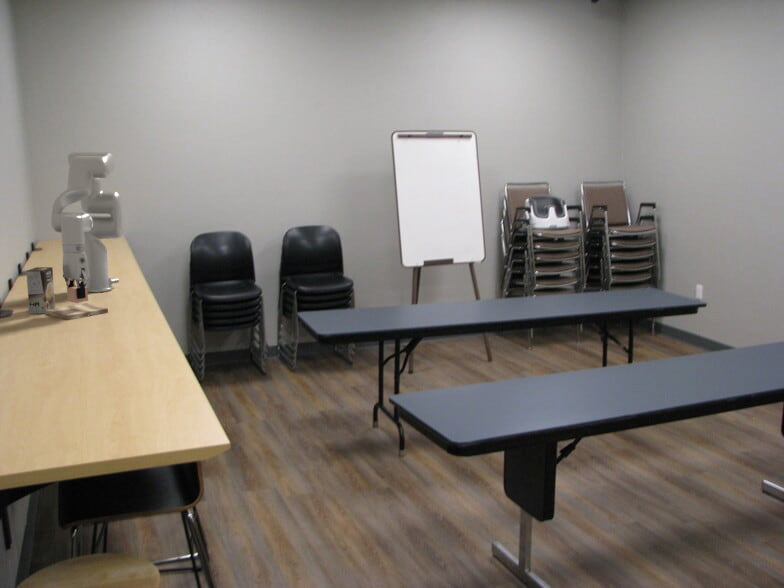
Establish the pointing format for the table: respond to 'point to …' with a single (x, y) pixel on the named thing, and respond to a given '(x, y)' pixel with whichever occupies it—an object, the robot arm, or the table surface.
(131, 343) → the table surface
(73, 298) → the coral cube
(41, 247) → the table surface
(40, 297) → the coffee box
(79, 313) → the birch board
